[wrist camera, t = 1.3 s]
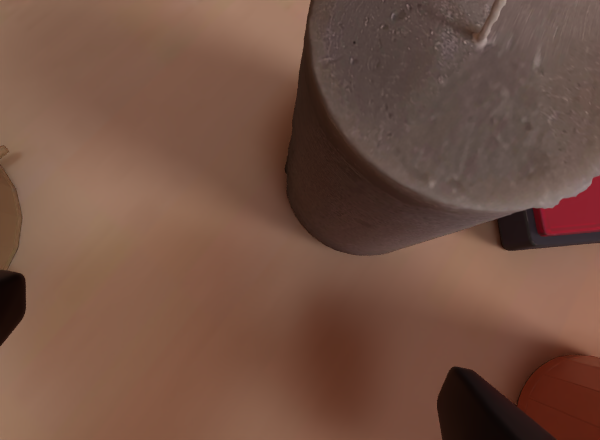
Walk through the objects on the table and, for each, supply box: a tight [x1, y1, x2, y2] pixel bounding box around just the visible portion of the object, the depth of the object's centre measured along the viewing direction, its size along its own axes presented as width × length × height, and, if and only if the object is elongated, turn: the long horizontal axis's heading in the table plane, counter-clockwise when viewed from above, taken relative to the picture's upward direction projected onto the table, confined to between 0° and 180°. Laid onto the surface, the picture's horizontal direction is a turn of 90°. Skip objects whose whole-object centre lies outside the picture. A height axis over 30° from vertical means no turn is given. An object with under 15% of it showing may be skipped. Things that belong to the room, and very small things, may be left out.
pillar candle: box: [285, 0, 600, 255], centre depth 17 cm, size 10×10×15 cm
